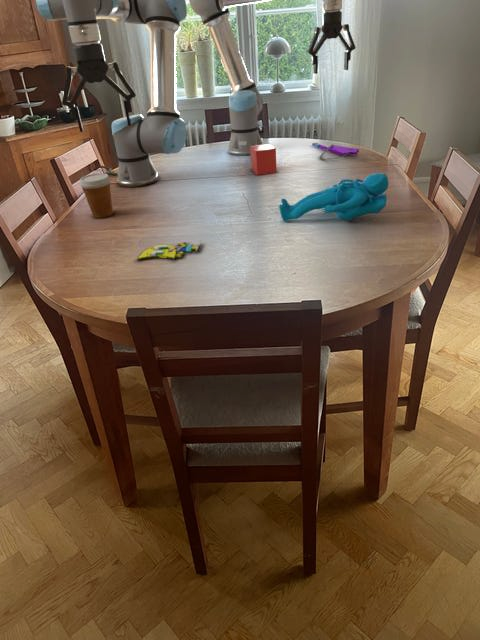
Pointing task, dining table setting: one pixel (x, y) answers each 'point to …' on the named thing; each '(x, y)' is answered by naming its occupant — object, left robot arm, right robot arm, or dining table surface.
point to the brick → (263, 159)
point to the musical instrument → (337, 150)
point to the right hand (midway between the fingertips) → (330, 71)
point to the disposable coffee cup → (98, 194)
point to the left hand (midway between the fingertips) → (105, 128)
